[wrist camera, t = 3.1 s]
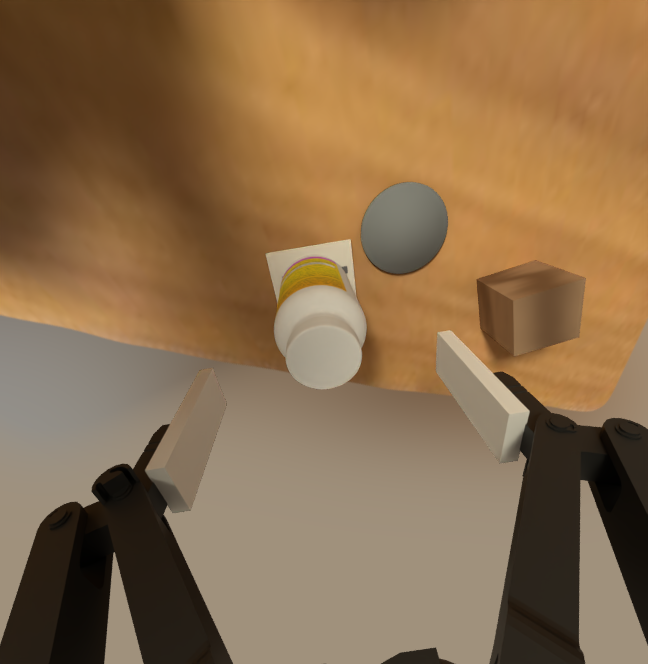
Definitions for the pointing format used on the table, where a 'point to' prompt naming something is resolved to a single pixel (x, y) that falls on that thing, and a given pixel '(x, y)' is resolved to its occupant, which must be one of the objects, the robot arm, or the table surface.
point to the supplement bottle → (319, 323)
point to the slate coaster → (404, 227)
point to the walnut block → (531, 306)
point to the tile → (332, 250)
